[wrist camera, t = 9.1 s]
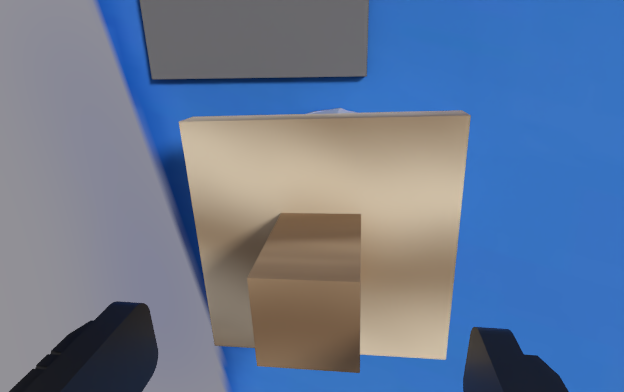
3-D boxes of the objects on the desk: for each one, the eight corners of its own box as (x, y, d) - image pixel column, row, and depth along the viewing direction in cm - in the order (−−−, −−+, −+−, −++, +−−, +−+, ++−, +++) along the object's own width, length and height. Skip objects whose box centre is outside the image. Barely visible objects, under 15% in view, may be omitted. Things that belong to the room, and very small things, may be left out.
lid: (192, 116, 15) (96, 151, 9) (461, 110, 13) (525, 146, 8) (223, 327, 18) (166, 440, 13) (440, 339, 17) (475, 470, 11)
